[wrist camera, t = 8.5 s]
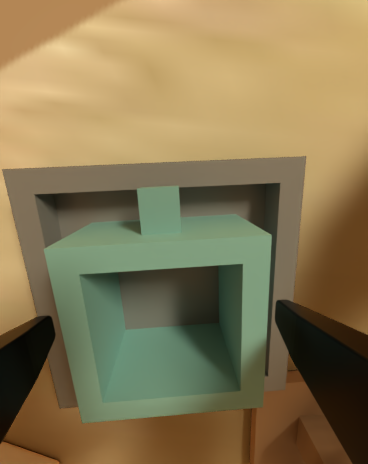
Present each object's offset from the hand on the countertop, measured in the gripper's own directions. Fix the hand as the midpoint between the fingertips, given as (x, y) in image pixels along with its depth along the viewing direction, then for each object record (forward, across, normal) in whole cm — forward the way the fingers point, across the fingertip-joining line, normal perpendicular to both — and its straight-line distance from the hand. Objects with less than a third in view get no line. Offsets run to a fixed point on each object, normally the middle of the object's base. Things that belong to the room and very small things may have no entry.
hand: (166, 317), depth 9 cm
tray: (+3, 0, 0) cm, 3 cm away
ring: (+3, 0, 0) cm, 3 cm away
